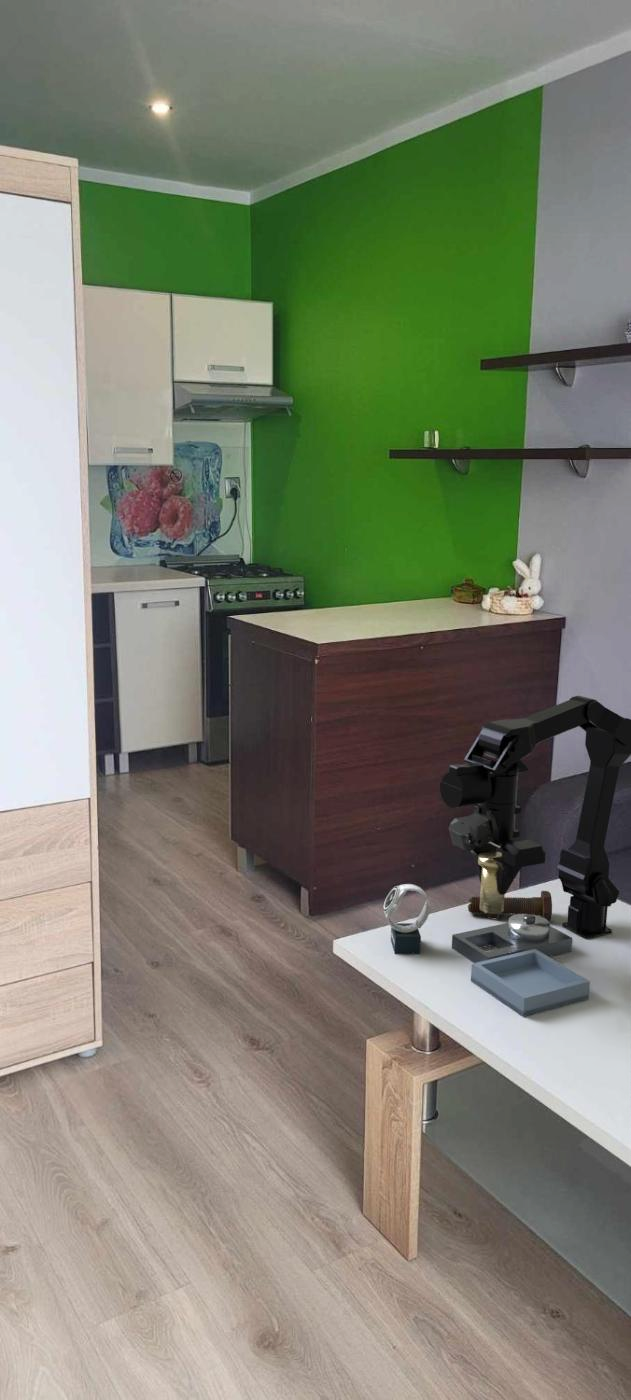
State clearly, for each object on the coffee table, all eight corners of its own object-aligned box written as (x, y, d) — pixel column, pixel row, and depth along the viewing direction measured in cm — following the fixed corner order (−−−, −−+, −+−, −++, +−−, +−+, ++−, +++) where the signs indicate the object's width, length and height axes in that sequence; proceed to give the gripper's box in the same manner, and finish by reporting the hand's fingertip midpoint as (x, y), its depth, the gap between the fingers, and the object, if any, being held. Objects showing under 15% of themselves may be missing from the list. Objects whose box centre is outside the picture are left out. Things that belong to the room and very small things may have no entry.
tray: (533, 965, 177) (535, 948, 176) (588, 999, 166) (590, 981, 165) (470, 981, 171) (471, 963, 170) (523, 1016, 159) (524, 998, 159)
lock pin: (494, 900, 182) (497, 849, 180) (514, 912, 177) (518, 859, 175) (468, 906, 179) (471, 854, 178) (488, 917, 175) (491, 864, 173)
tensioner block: (533, 930, 191) (535, 901, 190) (571, 951, 183) (573, 921, 181) (451, 948, 183) (453, 918, 182) (487, 971, 174) (489, 940, 173)
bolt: (467, 922, 199) (549, 924, 197) (469, 918, 194) (552, 921, 193) (467, 891, 200) (548, 893, 199) (468, 886, 196) (551, 888, 194)
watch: (379, 940, 185) (381, 880, 183) (425, 940, 186) (428, 880, 184) (383, 953, 180) (385, 892, 178) (430, 953, 180) (433, 892, 178)
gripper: (425, 790, 179) (421, 878, 182) (494, 821, 163) (488, 917, 166) (479, 783, 184) (474, 868, 187) (551, 812, 168) (544, 905, 171)
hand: (493, 889), depth 178 cm, fingers closed on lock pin, 5 cm apart
